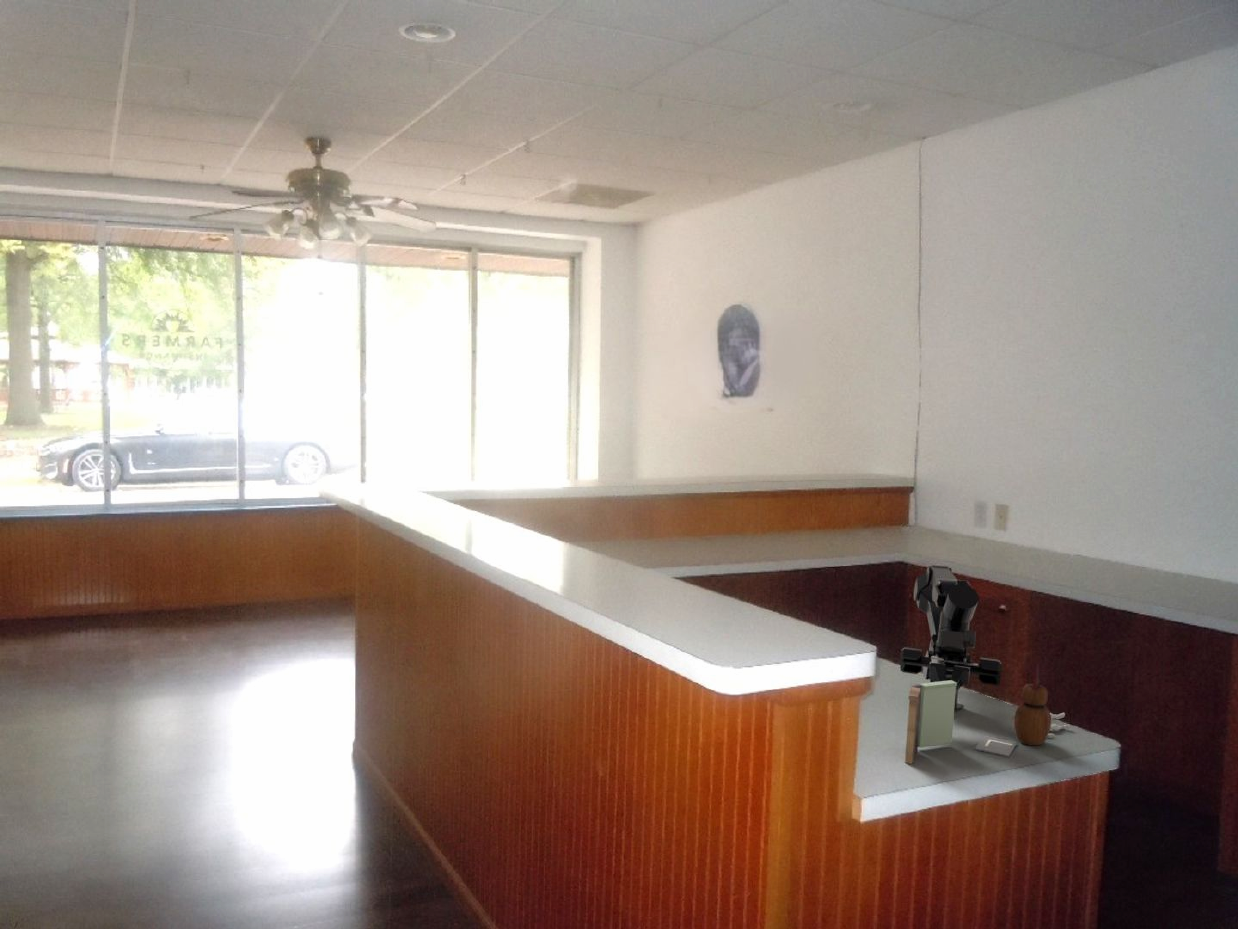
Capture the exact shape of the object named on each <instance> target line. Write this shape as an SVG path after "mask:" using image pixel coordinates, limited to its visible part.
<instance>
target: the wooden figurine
mask: <svg viewBox="0 0 1238 929" xmlns="http://www.w3.org/2000/svg"><path fill="white" fill-rule="evenodd" d="M1039 664H1040V663H1037V665H1036V670H1035V671H1036V672H1035V676H1034V680H1033V683H1027V684H1025V685H1024V686H1023V687H1022V691H1021V700H1022V702H1023V703H1020V705H1019V706H1018V707H1017V708H1016V711H1015V713H1014V717H1015V718H1014V719H1013V725H1014V732H1015V735H1016V738H1017V740H1019V741H1020V742H1021V743H1023V744H1025V745H1030V746H1039V745H1042V744H1043V743H1044V742H1045V741H1046V739H1047V738H1048V737H1047V735H1048V734H1049V733H1050V731H1049V730H1050V727H1051V724H1052V719H1051V715H1050V713H1051V712H1050V710H1049V708H1048V707H1047V706H1046V704H1047V702H1048V697H1049V693H1048V690H1047V688H1046V687H1045V686H1043V685H1041V684H1040V683H1039V680H1040V679H1039V673H1040V672H1039V671H1040V670H1039V668H1040V667H1039V666H1040V665H1039Z"/></svg>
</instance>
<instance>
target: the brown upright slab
mask: <svg viewBox="0 0 1238 929" xmlns="http://www.w3.org/2000/svg"><path fill="white" fill-rule="evenodd" d="M920 684H921V683H915V682H913V683H911V684H910V691H909V693H908V700H909V702H908V703H909V704H908V716H907V717H908V718H907V731H906V744H905V758H904V759H905V760H904V763H905V764H911V765H912V764H913V762H914V758H915V754H917V753H918V749H919V747H918V737H919V723H920V710H921V696H922V685H920Z"/></svg>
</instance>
